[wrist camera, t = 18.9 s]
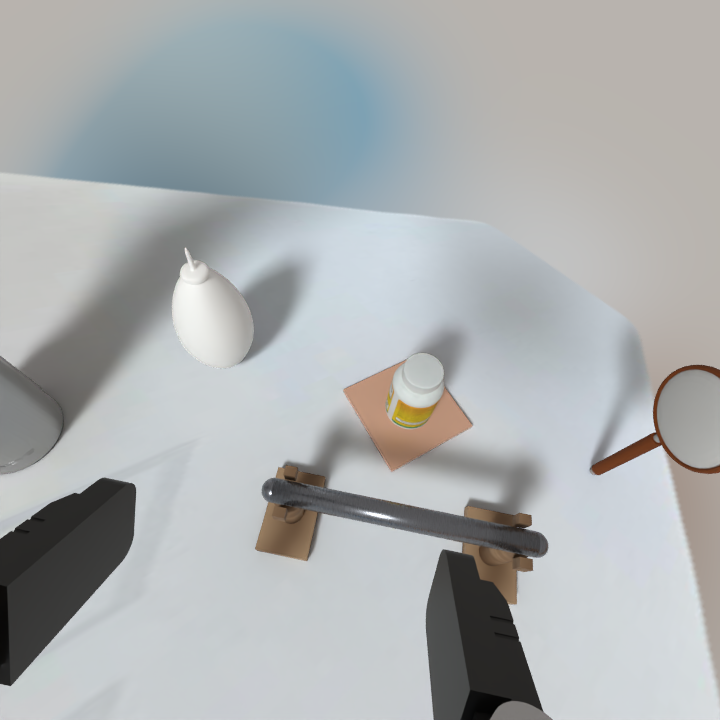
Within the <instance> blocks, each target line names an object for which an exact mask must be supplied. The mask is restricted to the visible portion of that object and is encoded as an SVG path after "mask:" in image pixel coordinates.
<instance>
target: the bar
mask: <svg viewBox="0 0 720 720" xmlns="http://www.w3.org/2000/svg"><path fill="white" fill-rule="evenodd" d="M262 495H263V497H264V499H265V500H266V501H268V502H271V503H275V504H280V505H285V506H290V507H295V508H299V509H304V510H309V511H314V512H319V513H323V514H328V515H333V516H338V517H343V518H347V519H352V520H357V521H362V522H367V523H371V524H376V525H381V526H386V527H391V528H396V529H400V530H405V531H410V532H415V533H420V534H424V535H429V536H434V537H439V538H444V539H448V540H453V541H458V542H463V543H468V544H473V545H477V546H482V547H487V548H492V549H497V550H501V551H506V552H511V553H516V554H521V555H525V556H530V557H536V558H539V557H542V556H544V555H545V554H546V553H547V551H548V541H547V539H546V538H545V537H544V535H542V534H541V533H539V532H536V531H532V530H527V529H522V528H517V527H512V526H507V525H502V524H498V523H493V522H488V521H483V520H478V519H473V518H468V517H464V516H459V515H454V514H449V513H444V512H439V511H434V510H430V509H425V508H420V507H415V506H410V505H405V504H400V503H396V502H391V501H386V500H381V499H376V498H371V497H366V496H362V495H357V494H352V493H347V492H342V491H337V490H332V489H328V488H323V487H318V486H313V485H308V484H303V483H298V482H294V481H289V480H284V479H279V478H271V479H268V480H267V481H266V482H265V483H264V484H263V486H262Z"/></svg>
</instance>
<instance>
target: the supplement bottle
mask: <svg viewBox="0 0 720 720" xmlns="http://www.w3.org/2000/svg"><path fill="white" fill-rule="evenodd" d="M443 377H444V368H443V366H442V364H441V362H440V361H439V360H438V359H437V358H436V357H434V356H432V355H430V354H427V353H417V354H414V355H412V356H410V357H409V358H408V359H407V360H406V362H405V363H403V364H402V365H401V366H399V367H398V369H397V370H396V371H395V373H394V376H393V379H392V382H391V386H390V389H389V392H388V396H387V399H386V404H385V408H386V413H387V415H388V417H389V419H390V420H391V421H392V422H393V423H394V424H395V425H397V426H399V427H401V428H404V429H417V428H420V427H421V426H423V425H424V424H425V423H426V422H427V421H428V419H429V418H430V416H431V414H432V412H433V411H434V409H435V407H436V405H437V403H438V402H439V400H440V398H441V396H442V394H443V391H444V381H443Z"/></svg>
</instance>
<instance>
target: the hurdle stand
mask: <svg viewBox="0 0 720 720" xmlns="http://www.w3.org/2000/svg"><path fill="white" fill-rule="evenodd" d="M276 478H279V479H284V480H289V481H294V482H298V483H303V484H308V485H313V486H318V487H323V488H324V484H325V477H324V476H319V475H314V474H310V473H305V472H300V471H298V468H297V467H293V466H288V465H286V467H285V468H280V467H279V468H278V471H277V474H276ZM317 515H318V512H314V511H309V510H304V509H299V508H295V507H290V506H285V505H280V504H275V503H271V502H268V506H267V509H266V513H265V516H264V520H263V523H262V527H261V530H260V534H259V537H258V541H257V544H256V547H255V549H256V550H257V551H262V552H267V553H271V554H276V555H281V556H285V557H290V558H295V559H300V560H304V561H307V559H308V555H309V550H310V546H311V541H312V537H313V532H314V528H315V524H316V519H317ZM464 517H468V518H473V519H478V520H483V521H488V522H493V523H498V524H502V525H507V526H512V527H519V528H526V527H529V526H531V525H532V517H531V515H528V514H523V513H518V514H516V515H510V514H505V513H500V512H495V511H490V510H485V509H480V508H475V507H471V506H467V507H466V508H465V510H464ZM462 553H464V554H468V555H473V557H474V559H475V562H476V566H477V569H478V573H479V577H480V579H481V580H486V581H490V582H493V583H494V584H495V586H496V587H497V588H498V590H499V591H500V592H501V594H502V595H503V596H504V598H505V599H506V600H507V603H508V604H517V579H516V570H518V571H522V572H527V571H532V570H533V559H528V558H527V557H528V556H525V555H521V554H516V553H511V552H506V551H501V550H497V549H492V548H487V547H482V546H477V545H473V544H468V543H463V547H462Z"/></svg>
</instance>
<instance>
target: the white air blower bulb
mask: <svg viewBox="0 0 720 720" xmlns="http://www.w3.org/2000/svg"><path fill="white" fill-rule="evenodd" d="M185 253H186V257H187V260H188V262H187V263H185V264H184V265H183V266H182V268H181V270H180V278H179V279H178V281H177V283H176V286H175V289H174V293H173V298H172V318H173V324H174V328H175V331H176V333H177V335H178V338H179V340H180V342H181V343H182V345H183V346H184V348H185V349H186V350H187V351H188V353H189V354H190V355H191V356H193V357H194V358H195V359H196V360H198V361H199V362H201V363H203V364H205V365H207V366H210V367H213V368H219V369H226V368H231V367H233V366H235V365H237V364H238V363H239V362H241V361H242V360H243V359H244V357H245V356H246V355H247V353H248V351H249V349H250V347H251V344H252V341H253V335H254V325H253V319H252V315H251V312H250V309H249V307H248V305H247V303H246V301H245V299H244V298H243V296H242V295H241V293H240V292H239V291H238V290H237V288H236V287H235V286H234V285H233V284H232V283H231V282H230V281H229V280H228V279H226V278H225V277H224V276H223V275H221V274H220V273H218V272H217V271H215V270H213V269H211V268H209V267H208V265H207V264H205V263H204V262H202V261H198V260H193V259H192V257H191V254H190V252H189V251H188V249H187V248H185Z"/></svg>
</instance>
